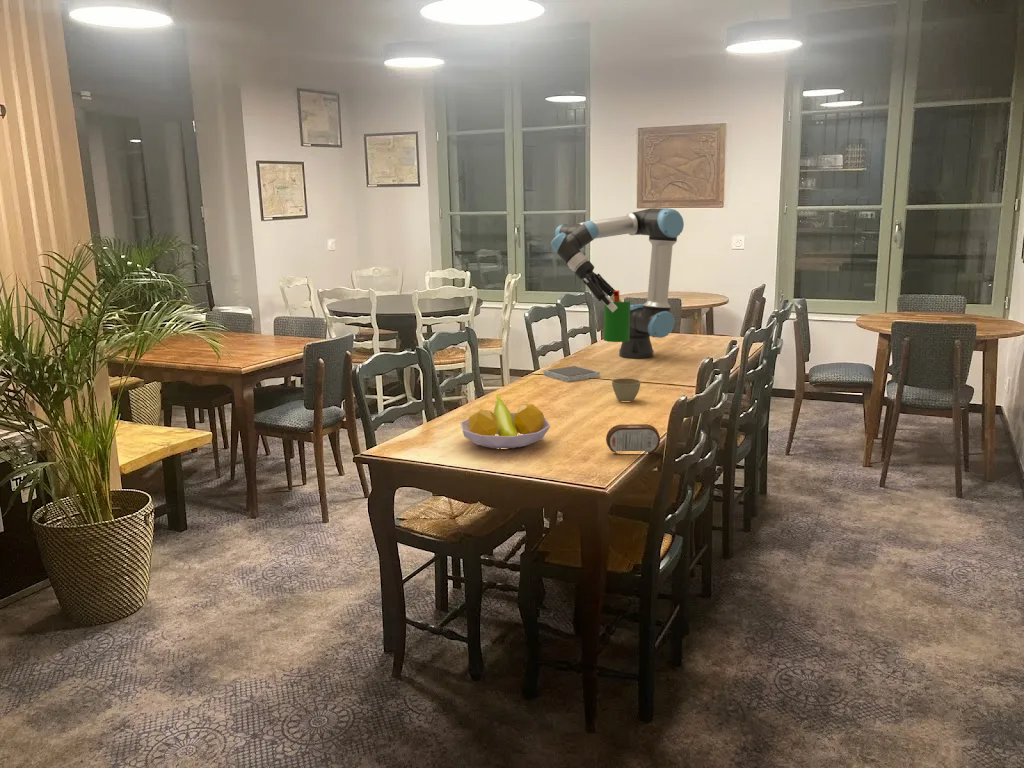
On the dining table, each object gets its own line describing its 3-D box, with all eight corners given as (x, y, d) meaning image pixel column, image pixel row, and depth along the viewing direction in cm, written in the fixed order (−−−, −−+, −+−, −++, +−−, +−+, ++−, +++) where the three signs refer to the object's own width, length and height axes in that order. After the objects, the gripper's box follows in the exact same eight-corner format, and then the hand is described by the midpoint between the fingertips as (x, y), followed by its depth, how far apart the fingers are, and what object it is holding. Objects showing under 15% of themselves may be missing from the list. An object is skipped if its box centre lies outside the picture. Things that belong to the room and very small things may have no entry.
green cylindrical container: (628, 339, 335) (630, 289, 331) (629, 342, 327) (631, 291, 323) (603, 338, 336) (604, 288, 332) (603, 342, 328) (604, 291, 324)
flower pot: (629, 405, 288) (629, 385, 286) (606, 401, 295) (606, 381, 293) (646, 400, 295) (646, 380, 293) (622, 396, 302) (622, 376, 300)
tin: (658, 451, 237) (659, 422, 235) (660, 455, 234) (661, 426, 232) (605, 453, 237) (605, 424, 235) (607, 456, 234) (607, 427, 232)
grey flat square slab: (575, 370, 346) (575, 365, 346) (599, 376, 333) (599, 371, 333) (543, 375, 338) (543, 370, 337) (567, 382, 325) (567, 376, 324)
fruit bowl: (544, 458, 233) (544, 418, 230) (450, 454, 238) (448, 416, 235) (557, 430, 260) (556, 395, 257) (471, 427, 264) (470, 392, 262)
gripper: (584, 270, 343) (621, 311, 339) (564, 275, 325) (603, 318, 321) (597, 257, 339) (634, 299, 336) (577, 261, 321) (616, 305, 318)
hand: (619, 308), depth 329 cm, fingers closed on green cylindrical container, 8 cm apart
